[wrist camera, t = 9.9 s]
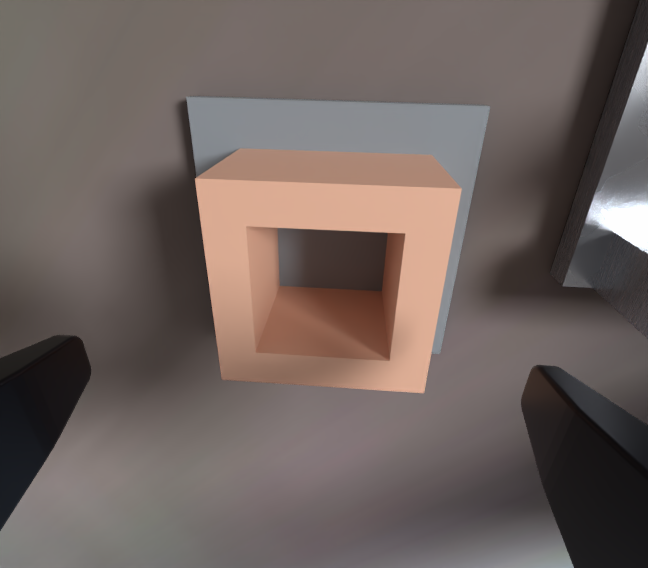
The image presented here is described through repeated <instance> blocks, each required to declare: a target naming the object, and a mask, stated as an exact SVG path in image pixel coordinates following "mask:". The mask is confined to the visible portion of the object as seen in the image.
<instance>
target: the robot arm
mask: <svg viewBox="0 0 648 568" xmlns="http://www.w3.org/2000/svg"><path fill="white" fill-rule="evenodd" d="M90 375H91V366H90V363H89V360H88V357H87V354H86V351H85V348H84V344H83V342H82V340H81V339H80V338H79V337H77V336H70V335H56V336H53V337H51V338H48V339H46V340H43V341H41V342H38V343H36V344H34V345H31V346H29V347H26V348H24V349H22V350H19V351H17V352H14V353H12V354H10V355H7V356H5V357H2V358H0V531H1V529H2V527H3V526H4V524H5V523H6V521H7V520H8V518H9V517H10V515H11V514H12V512H13V510H14V509H15V507H16V506H17V504H18V503H19V501H20V500H21V498H22V496H23V495H24V493H25V492H26V490H27V489H28V487H29V486H30V484H31V483H32V481H33V479H34V478H35V476H36V475H37V473H38V472H39V470H40V469H41V467H42V465H43V464H44V462H45V461H46V459H47V458H48V456H49V454H50V453H51V451H52V449H53V448H54V446H55V444H56V442H57V441H58V439H59V437H60V435H61V433H62V431H63V429H64V428H65V426H66V424H67V422H68V420H69V418H70V416H71V414H72V412H73V410H74V408H75V406H76V404H77V402H78V400H79V398H80V397H81V395H82V393H83V391H84V389H85V387H86V385H87V383H88V381H89V379H90ZM521 407H522V412H523V415H524V419H525V423H526V427H527V430H528V434H529V438H530V442H531V445H532V449H533V453H534V457H535V460H536V464H537V468H538V472H539V475H540V478H541V482H542V485H543V488H544V491H545V493H546V496H547V499H548V502H549V504H550V507H551V509H552V512H553V514H554V517H555V520H556V522H557V525H558V527H559V530H560V533H561V535H562V538H563V540H564V543H565V546H566V548H567V551H568V553H569V556H570V558H571V561H572V564H573V566H574V568H648V425H646V424H645V423H643V422H642V421H640V420H639V419H637V418H635V417H634V416H632V415H631V414H629V413H628V412H626V411H625V410H623V409H622V408H620V407H619V406H617V405H616V404H614V403H613V402H611V401H610V400H608V399H607V398H605V397H603V396H602V395H600V394H599V393H597V392H596V391H594V390H593V389H591V388H590V387H588V386H587V385H585V384H584V383H582V382H581V381H579V380H578V379H576V378H575V377H573V376H572V375H570V374H568V373H567V372H565V371H564V370H562V369H561V368H559V367H556V366H545V365H536V366H534V367H533V368H532V369H531V372H530V374H529V377H528V380H527V383H526V386H525V389H524V392H523V394H522V399H521Z"/></svg>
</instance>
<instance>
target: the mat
mask: <svg viewBox="0 0 648 568" xmlns="http://www.w3.org/2000/svg"><path fill="white" fill-rule="evenodd" d="M186 98H187V106H188V114H189V122H190V130H191V138H192V145H193V153H194V161H195V169H196V177H198V176H199V175H201V174H202V173H204V172H205V171H207V170H208V169H210V168H211V167H213V166H214V165H216V164H217V163H219V162H220V161H222V160H223V159H225V158H226V157H228V156H229V155H231V154H232V153H234V152H235V151H237V150H238V149H240V148H244V149H274V150H304V151H333V152H363V153H392V154H422V155H432V156H433V157H434V158H435V159H436V160H437V161H438V162H439V164H440V165H441V166H442V167H443V168H444V169H445V170H446V171H447V173H448V174H449V175H450V176H451V177H452V178H453V179H454V180H455V182H456V183H457V184H458V185H459V186H460V187H461V188H462V190H461V196H460V201H459V207H458V212H457V217H456V223H455V228H454V234H453V239H452V244H451V250H450V255H449V261H448V266H447V271H446V277H445V282H444V288H443V293H442V298H441V304H440V309H439V314H438V320H437V325H436V331H435V336H434V341H433V347H432V352H431V353H434V354H440V351H441V346H442V342H443V337H444V332H445V327H446V322H447V317H448V312H449V307H450V302H451V297H452V292H453V287H454V283H455V278H456V273H457V268H458V263H459V258H460V253H461V248H462V243H463V238H464V233H465V228H466V224H467V219H468V214H469V209H470V204H471V199H472V194H473V189H474V184H475V179H476V174H477V169H478V165H479V160H480V155H481V150H482V145H483V140H484V135H485V130H486V125H487V120H488V115H489V110H490V106H487V105H473V104H440V103H408V102H375V101H343V100H310V99H278V98H245V97H213V96H190V97H186ZM387 236H388V233H384V232H361V231H339V230H317V229H294V228H278V254H279V281H280V286H291V287H309V288H328V289H347V290H366V291H382V285H383V275H384V266H385V256H386V246H387Z"/></svg>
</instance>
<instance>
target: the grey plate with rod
mask: <svg viewBox="0 0 648 568" xmlns="http://www.w3.org/2000/svg"><path fill="white" fill-rule="evenodd" d="M550 274H551V275H552V276H553V277H554V278H555V279H556V280H557V281H558V282H559V283H560V284H561V285H562V286H566V287H585V288H593V289H594V290H595V291H596V292H598V293H599V294H600V295H601V296H602V297H603V298H604V299H605V300H606V301H607V302H608V303H609V304H611V305H612V306H613V307H614V308H615V309H616V310H617V311H618V312H619V313H620V314H621V315H622V316H624V317H625V318H626V319H627V320H628V321H629V322H630V323H631V324H632V325H633V326H634V327H635V328H637V329H638V330H639V331H640V332H641V333H642V334H643V335H644V336H645V337H646V338H647V339H648V0H640V1H639V4H638V7H637V10H636V13H635V16H634V19H633V22H632V25H631V28H630V31H629V34H628V37H627V40H626V43H625V46H624V49H623V52H622V55H621V58H620V61H619V65H618V68H617V71H616V74H615V77H614V80H613V83H612V86H611V89H610V92H609V95H608V98H607V101H606V104H605V107H604V110H603V113H602V116H601V119H600V122H599V125H598V128H597V131H596V135H595V138H594V141H593V144H592V147H591V150H590V153H589V156H588V159H587V162H586V165H585V168H584V171H583V174H582V177H581V180H580V183H579V186H578V189H577V192H576V195H575V198H574V201H573V205H572V208H571V211H570V214H569V217H568V220H567V223H566V226H565V229H564V232H563V235H562V238H561V241H560V244H559V247H558V250H557V253H556V256H555V259H554V262H553V265H552V268H551V271H550Z"/></svg>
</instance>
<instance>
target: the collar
mask: <svg viewBox="0 0 648 568" xmlns="http://www.w3.org/2000/svg"><path fill="white" fill-rule="evenodd" d="M195 183H196V191H197V198H198V206H199V213H200V221H201V228H202V236H203V243H204V251H205V258H206V266H207V273H208V281H209V288H210V296H211V303H212V311H213V318H214V325H215V333H216V340H217V348H218V355H219V363H220V370H221V378H222V380H234V381H249V382H264V383H279V384H294V385H309V386H324V387H339V388H354V389H369V390H384V391H399V392H414V393H424V390H425V385H426V379H427V374H428V368H429V363H430V358H431V352H432V347H433V341H434V336H435V331H436V325H437V320H438V314H439V309H440V304H441V298H442V293H443V288H444V282H445V277H446V271H447V266H448V261H449V255H450V250H451V244H452V239H453V234H454V228H455V223H456V217H457V212H458V207H459V201H460V196H461V190H462V188H461V187H460V186H459V185H458V184H457V183H456V182H455V180H454V179H453V178H452V177H451V176H450V175H449V174H448V173H447V171H446V170H445V169H444V168H443V167H442V166H441V165H440V164H439V162H438V161H437V160H436V159H435V158H434V157H433V156H432V155H422V154H392V153H363V152H333V151H304V150H274V149H244V148H240V149H238V150H237V151H235V152H234V153H232V154H231V155H229V156H228V157H226V158H225V159H223V160H222V161H220V162H219V163H217V164H216V165H214V166H213V167H211V168H210V169H208V170H207V171H205V172H204V173H202V174H201V175H199V176H198V177H196V178H195ZM278 228H294V229H317V230H339V231H361V232H384V233H388V236H387V246H386V256H385V266H384V275H383V285H382V291H366V290H347V289H328V288H309V287H291V286H280V281H279V254H278Z"/></svg>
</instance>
